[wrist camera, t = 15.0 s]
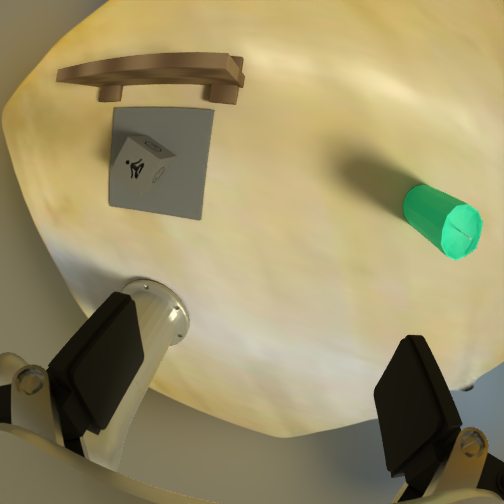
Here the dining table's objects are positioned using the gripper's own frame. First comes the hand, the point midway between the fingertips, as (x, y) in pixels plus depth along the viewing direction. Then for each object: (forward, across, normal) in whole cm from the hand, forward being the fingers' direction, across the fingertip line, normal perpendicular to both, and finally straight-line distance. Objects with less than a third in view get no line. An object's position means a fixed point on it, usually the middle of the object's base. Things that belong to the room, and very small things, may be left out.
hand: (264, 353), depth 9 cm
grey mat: (+27, +17, -2) cm, 32 cm away
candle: (+27, -19, -1) cm, 33 cm away
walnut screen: (+27, +16, -13) cm, 34 cm away
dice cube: (+26, +17, -2) cm, 31 cm away
